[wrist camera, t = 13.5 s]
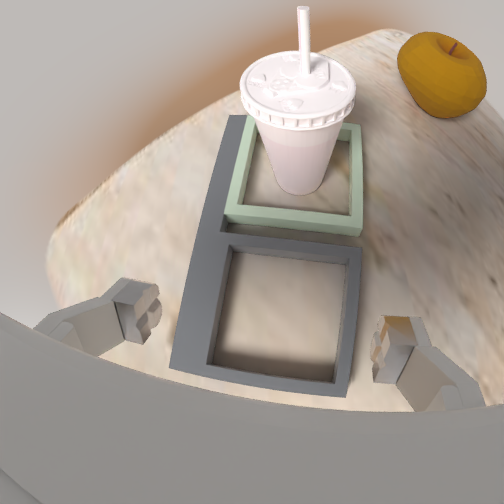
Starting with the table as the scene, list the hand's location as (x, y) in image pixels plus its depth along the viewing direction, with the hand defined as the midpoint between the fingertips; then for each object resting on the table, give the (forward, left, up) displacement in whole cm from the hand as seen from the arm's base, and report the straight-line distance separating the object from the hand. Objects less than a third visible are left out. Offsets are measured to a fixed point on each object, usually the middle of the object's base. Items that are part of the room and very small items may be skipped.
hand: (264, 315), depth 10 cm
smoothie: (0, -12, -10) cm, 16 cm away
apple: (-13, -23, -10) cm, 28 cm away
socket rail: (0, -7, -9) cm, 12 cm away
